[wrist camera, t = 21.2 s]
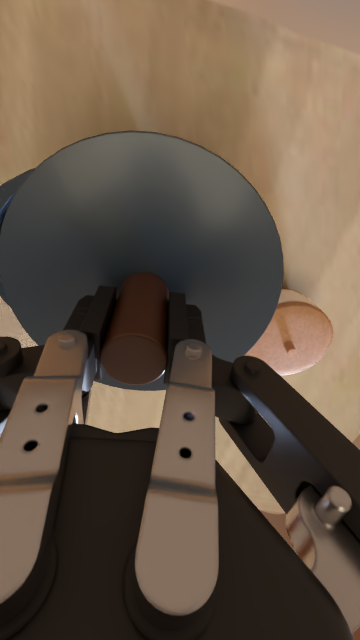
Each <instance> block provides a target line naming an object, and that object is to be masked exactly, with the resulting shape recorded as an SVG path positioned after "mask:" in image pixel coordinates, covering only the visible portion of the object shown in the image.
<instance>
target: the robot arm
mask: <svg viewBox="0 0 360 640" xmlns="http://www.w3.org/2000/svg"><path fill="white" fill-rule="evenodd" d="M116 301H117V288H116V287H113V286H102V285H99V287H98V289H97V291H96V293H95V296H92V295H86V296H84V297H83V298H81V299H80V300H78V302H77V304H76V306H75V308H74V310H73V312H72V314H71V316H70V317H69V319H68V321H67V323H66V325H65V327H64V329H63V330H62V331H58V332H56V333H54V334H52V335H51V336H49V338H48V339H47V341H46V343H45V345H41V346H34V347H26V348H21V344H20V342H19V341H18V340H17V339H15V338H12V337H0V435H1V436H0V640H354V637H353V635H352V634H353V633H354V632H355V631H356V630H357V629H358V628H359V626H360V450H359V449H358V448H357V447H356V446H355V445H354V444H353V443H351V442H350V441H349V440H348V439H347V438H346V437H345V436H344V435H343V434H342V433H341V432H340V431H339V430H338V429H336V428H335V427H334V426H333V425H332V424H331V423H330V422H329V421H328V420H327V419H326V418H325V417H324V416H323V415H321V414H320V413H319V412H318V411H317V410H316V409H315V408H314V407H313V406H312V405H311V404H310V403H309V402H308V401H306V400H305V399H304V398H303V397H302V396H301V395H300V394H299V393H298V392H297V391H296V390H295V389H294V388H293V387H292V386H290V385H289V384H288V383H287V382H286V381H285V380H284V379H283V378H282V377H281V376H280V375H279V374H278V373H277V372H275V371H274V370H273V369H272V368H271V367H270V366H269V365H268V364H267V363H266V362H264V361H263V360H261V359H259V358H257V357H253V356H240V357H238V358H236V359H235V360H234V362H233V363H232V362H228V361H225V360H222V359H220V358H217V357H216V356H214V355H213V354H212V350H211V348H210V347H209V346H208V345H207V344H206V339H205V333H204V327H203V320H202V314H201V311H200V309H199V308H198V307H197V306H196V305H192V304H186V297H185V293H177V292H169V299H168V334H167V355H168V365H167V368H166V370H165V371H164V383H163V384H167V390H166V395H165V400H164V406H163V411H162V417H161V422H160V427H159V428H146V429H140V430H135V431H129V432H123V433H113V432H109V431H106V430H102V429H99V428H96V427H92V426H89V425H87V421H88V414H89V406H90V399H91V387H92V384H93V381H94V380H102V376H103V373H104V369H103V367H102V365H101V361H100V353H101V349H102V346H103V343H104V339H105V336H106V333H107V330H108V327H109V323H110V320H111V317H112V314H113V311H114V307H115V304H116ZM258 412H259V413H260V414H259V413H258ZM215 416H216V417H219V421H220V423H221V425H222V426H223V428H224V429H225V430H226V432H227V433H228V435H229V436H230V437H231V439H232V440H233V441H234V443H235V444H236V446H237V447H238V448H239V450H240V451H241V452H242V454H243V455H244V457H245V458H246V459H247V461H248V462H249V463H250V465H251V466H252V467H253V469H254V470H255V472H256V473H257V474H258V476H259V477H260V478H261V480H262V481H263V483H264V484H265V485H266V487H267V488H268V489H269V491H270V492H271V494H272V495H273V496H274V498H275V499H276V500H277V502H278V503H279V505H280V506H281V507H282V509H283V510H284V511H285V513H286V514H287V517H286V529H287V533H288V536H289V538H290V540H291V542H292V546H293V548H294V550H295V551H296V552H297V554H298V555H297V554H296V553H295V552H294V550H293V549H292V548H291V547H290V546H289V545H288V544H287V542H286V541H285V540H284V539H283V537H282V536H281V535H280V534H279V533H278V532H277V530H276V529H275V528H274V527H273V526H272V525H271V523H269V521H268V520H267V519H266V518H265V517H264V515H263V514H262V513H261V512H260V511H259V510H258V508H257V507H256V506H255V505H254V504H253V503H252V501H251V500H250V499H249V498H248V497H247V496H246V494H245V493H244V492H243V491H242V490H241V489H240V487H239V486H238V485H237V484H236V483H235V482H234V480H233V479H232V478H231V477H230V476H229V475H228V473H227V472H226V471H225V470H224V469H223V468H222V466H221V465H220V464H219V463H218V462H217V461H216V460H215ZM261 416H262V417H263V418H264V419H265V420H266V421H267V422H266V421H265V420H264V419H263V418H262V417H261ZM268 424H269V425H270V426H271V427H270V426H269V425H268Z"/></svg>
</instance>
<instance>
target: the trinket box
mask: <svg viewBox="0 0 360 640" xmlns="http://www.w3.org/2000/svg"><path fill="white" fill-rule="evenodd" d="M332 338H333V328H332V324H331V322H330V320H329V319H328V317H327V316H326V315H325V313H324V312H322V311H321V310H320V309H319V308H318V306H317V305H316V304H315V303H314V302H313V301H311V300H310V299H309V298H307V297H306V296H304V295H303V294H301V293H298V292H296V291H292V290H288V289H282V290H281V294H280V298H279V302H278V305H277V308H276V310H275V313H274V315H273V318H272V320H271V322H270V323H269V325H268V327H267V329H266V330H265V332H264V334H263V335H262V336H261V338H260V339H259V340H258V341H257V343H256V344H255V345H254V346H253V347H252V348H251V349H250V350H249V351H248V352H247V353H246V354H245V356H253V357H257V358H259V359H261V360H263V361H264V362H266V363H267V364H268V365H269V366H270V367H271V368H272V369H273V370H274V371H275V372H277V373H278V374H279V375H289V374H294V373H298V372H301V371H303V370H305V369H307V368H309V367H311V366H312V365H314V364H315V363H317V362H318V361H319V360H320V359H321V358H322V357H323V356H324V355H325V354H326V352H327V351H328V349H329V347H330V345H331V342H332Z"/></svg>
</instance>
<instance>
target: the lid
mask: <svg viewBox="0 0 360 640" xmlns="http://www.w3.org/2000/svg"><path fill="white" fill-rule="evenodd" d="M0 274H1V280H2V284H3V287H4V290H5V294H6V297H7V299H8V301H9V304H10V306H11V308H12V310H13V312H14V314H15V316H16V317H17V319H18V320H19V322H20V324H21V325H22V327H23V328H24V329H25V331H26V332H27V333H28V334H29V336H30V337H31V338H32V339H33V340H34V341H35V342H36V343H37V344H38V345H39V346H41V345H45V343H46V341H47V339H48V338H49V336H51V335H52V334H54V333H56V332H58V331H62V330H63V329H64V327H65V325H66V323H67V321H68V319H69V317H70V316H71V314H72V312H73V310H74V308H75V306H76V304H77V302H78V300H80V299H81V298H83V297H84V296H86V295H92V296H95V293H96V291H97V289H98V287H99V285H102V286H113V287H116V288H117V301H116V304H115V307H114V311H113V314H112V317H111V320H110V323H109V327H108V330H107V333H106V336H105V339H104V343H103V346H102V349H101V353H100V361H101V365H102V367H103V369H104V373H103V376H102V380H94V381H96V382H99V383H102V384H106V385H109V386H113V387H118V388H123V389H131V390H143V391H156V390H167V384H163V383H164V371H165V370H166V368H167V365H168V355H167V334H168V299H169V292H177V293H185V297H186V304H192V305H196V306H197V307H198V308H199V309H200V311H201V314H202V320H203V327H204V333H205V339H206V344H207V345H208V346H209V347H210V348H211V350H212V354H213V355H214V356H216V357H217V358H220V359H222V360H225V361H228V362H232V363H233V362H234V360H235V359H236V358H238V357H240V356H245V354H246V353H247V352H248V351H249V350H250V349H251V348H252V347H253V346H254V345H255V344H256V343H257V341H258V340H259V339H260V338H261V336H262V335H263V334H264V332H265V330H266V329H267V327H268V325H269V323H270V322H271V320H272V318H273V315H274V313H275V310H276V308H277V305H278V302H279V298H280V294H281V290H282V282H283V253H282V247H281V241H280V237H279V234H278V231H277V228H276V225H275V222H274V220H273V218H272V216H271V214H270V212H269V210H268V208H267V206H266V204H265V202H264V201H263V200H262V198H261V197H260V195H259V194H258V192H257V191H256V190H255V188H254V187H253V186H252V185H251V184H250V183H249V182H248V181H247V179H246V178H245V177H244V176H243V175H242V174H241V173H240V172H239V171H238V170H236V169H235V168H234V167H233V166H231V165H230V164H229V163H227V162H226V161H225V160H224V159H222V158H221V157H220V156H218V155H216V154H214V153H212V152H211V151H209V150H207V149H205V148H204V147H202V146H200V145H198V144H195V143H192V142H190V141H187V140H185V139H182V138H179V137H176V136H171V135H166V134H162V133H157V132H146V131H122V132H112V133H105V134H101V135H97V136H93V137H89V138H85V139H82V140H80V141H78V142H76V143H73V144H71V145H69V146H67V147H64V148H62V149H61V150H59V151H58V152H56V153H55V154H53V155H52V156H50V157H49V158H47V159H46V160H44V161H43V162H42V163H41V164H40V165H39V166H38V167H37V168H36V169H34V170H33V171H32V172H31V173H30V174H29V175H28V176H27V178H26V179H25V180H24V182H23V183H22V184H21V186H20V187H19V188H18V190H17V191H16V193H15V195H14V197H13V199H12V201H11V203H10V204H9V206H8V208H7V211H6V214H5V217H4V220H3V224H2V227H1V233H0Z"/></svg>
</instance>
